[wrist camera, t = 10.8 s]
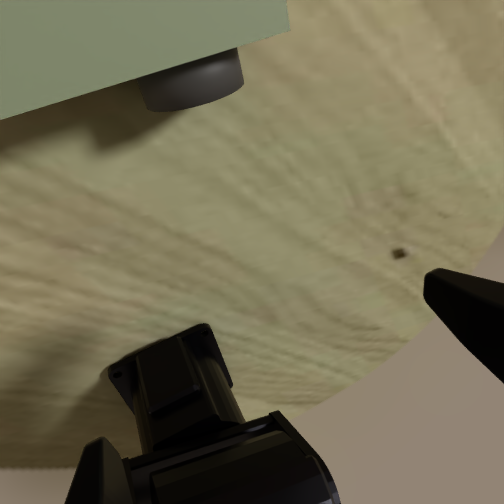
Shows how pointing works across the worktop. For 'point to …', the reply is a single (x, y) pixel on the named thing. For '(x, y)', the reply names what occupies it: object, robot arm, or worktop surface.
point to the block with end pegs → (128, 48)
